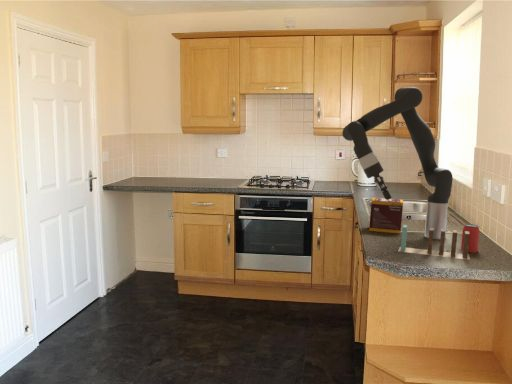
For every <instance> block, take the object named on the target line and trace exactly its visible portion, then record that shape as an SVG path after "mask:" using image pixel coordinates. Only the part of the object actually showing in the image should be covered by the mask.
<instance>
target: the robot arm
mask: <svg viewBox="0 0 512 384" xmlns="http://www.w3.org/2000/svg"><path fill="white" fill-rule="evenodd" d="M393 99H394V100H393V101H391V102H389V103H386V104H384V105H381V106H378V107H376V108H373V109H372V110H369V112H367V113H365V114H364V115H363V116H361V117H360V118H358V119H357V120H353V121H351V122H349V123H348V124H346V125H345V126H344V127H343V129H342V137H343V138H344V139H345V140H346V141H349V142H350V141H351V142H352V143H353V144H354V146H353V152H354V154H355V155H356V158H357V160H358V162H359V165H360V166H361V168H362V170H363V173H364V174H365V176H366V179H371V178H372V177H373V182H374V184H375V185H376V187H377V188H378V189H379V191H380V192H381V194H382V196H383V197H384V198H385V199H387V200H389V199H392V196H391V193H390V192H389V188H388V186H387V184H386V181H385V178H384V176H381V175H380V173H383V172H384V168H383V166H382V165H381V164H382V163H381V162H380V161H379V158H378V157H377V156H376V154H375V153H374V150H373V148H372V147H371V145H370V144H369V143H370V142H369V140H368V136H367V132H368V131H370V130H373V129H374V128H376V127H378V126H380V125H381V124H383V123H384V122H386V121H388V120H390V119H392V118H393V117H395V116H398V115H399V114H400V115H401V117H402V119H403V121H404V122H405V127H406V128H407V130H408V133H409V136H410V138H411V142H412V144H413V146H414V148H415V150H416V153H417V156H418V158H419V160H420V164H421V167H422V172H423V174H424V179H425V181H426V183H427V184H428V185H429V186H430V187H431V188H434V192H433V193H431V194H428V196H427V202H426V214H425V223H424V225H425V226H424V238H427V239H429V229H430V228H434V232H433V240H440V237H441V229H445V239H446V238H447V229H448V216H447V215H448V207H449V199H450V197H451V194H452V188H453V181H454V180H453V179H454V178H453V173H452V172H451V170H449V169H447V168H441V167H439V165H438V164H437V162H436V159H435V150H436V149H435V148H436V140H435V137H434V134H433V131H432V128H430V126H429V125H428V123H426V122H425V120H424V119H422V117H421V116H420V115H419V114H418V112H417V110H416V108H417V107H419V105H421V103H422V101H423V91H421V89H420V88H419V87H414V86H408V87H401V88H398V89H396V90H395V93H394V98H393Z"/></svg>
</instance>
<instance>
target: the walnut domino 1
mask: <svg viewBox="0 0 512 384" xmlns="http://www.w3.org/2000/svg"><path fill="white" fill-rule="evenodd" d="M433 232H434V228H430V229H429V238H428V242H427V250H428V252H427V254H432V251H433V241H434V239H433Z"/></svg>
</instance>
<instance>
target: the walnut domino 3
mask: <svg viewBox="0 0 512 384" xmlns="http://www.w3.org/2000/svg"><path fill="white" fill-rule="evenodd" d="M451 237H452V238H451V246H450V253H451V257H455V253H457V252H456V251H457V242H458V230H456V229H453V230H452V236H451Z"/></svg>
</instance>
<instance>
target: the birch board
mask: <svg viewBox="0 0 512 384" xmlns="http://www.w3.org/2000/svg"><path fill="white" fill-rule="evenodd" d="M398 252H399V253H400V252H401V253H411V254H416V255H417V254H418V255H426V256H427V255H428V256H434V257H444V258H452V259H459V260H460V259H461V260H468V261H470V260H471V258H470V257H471V256H470V254H468V256H467V258H463V253H457V252H456V253H455V257H451V252H447V251H444V252H443V256H442V255H439V250H432V254H427V252H428V249H422V248H414V247H406V249H405V251H401V246H399V248H398Z"/></svg>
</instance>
